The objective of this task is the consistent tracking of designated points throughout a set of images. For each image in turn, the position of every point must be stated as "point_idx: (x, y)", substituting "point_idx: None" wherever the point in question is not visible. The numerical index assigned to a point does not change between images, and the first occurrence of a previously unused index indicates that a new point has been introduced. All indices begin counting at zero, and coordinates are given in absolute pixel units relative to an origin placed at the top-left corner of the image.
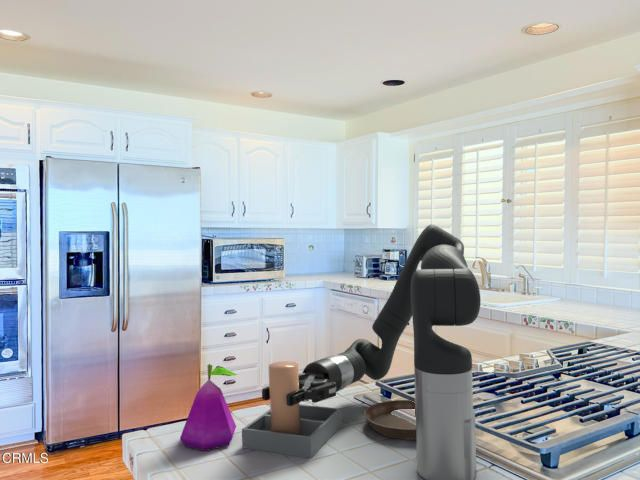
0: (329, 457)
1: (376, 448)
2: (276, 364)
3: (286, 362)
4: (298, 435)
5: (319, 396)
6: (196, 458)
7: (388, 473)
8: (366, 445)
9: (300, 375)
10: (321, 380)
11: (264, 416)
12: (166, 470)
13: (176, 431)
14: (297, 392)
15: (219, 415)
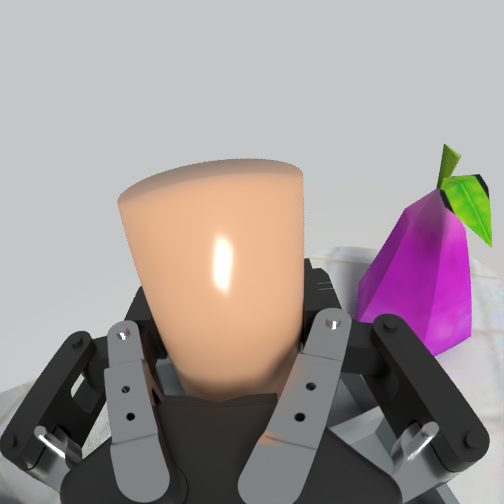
0: (106, 412)
1: (29, 482)
2: (257, 171)
3: (229, 194)
4: (160, 362)
5: (89, 409)
6: (344, 284)
7: (7, 392)
8: (50, 494)
9: (255, 445)
10: (86, 492)
11: (379, 407)
12: (335, 253)
13: (480, 302)
14: (144, 301)
15: (381, 268)
